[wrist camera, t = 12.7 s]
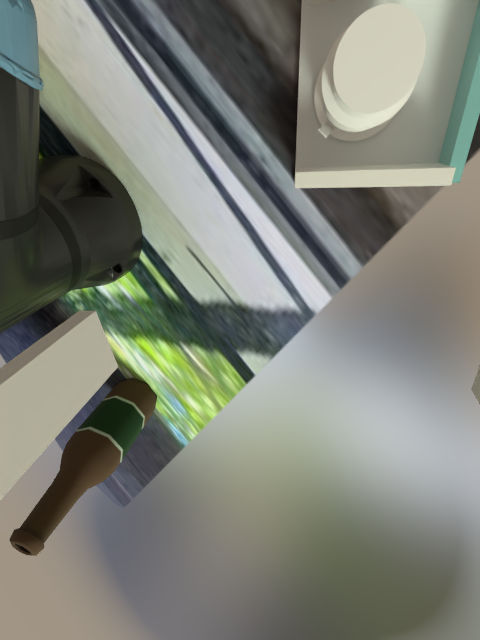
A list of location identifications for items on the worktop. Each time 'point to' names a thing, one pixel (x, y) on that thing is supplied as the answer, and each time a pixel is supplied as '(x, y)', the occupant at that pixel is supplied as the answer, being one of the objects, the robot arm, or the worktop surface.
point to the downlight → (370, 72)
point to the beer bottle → (88, 459)
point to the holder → (415, 115)
